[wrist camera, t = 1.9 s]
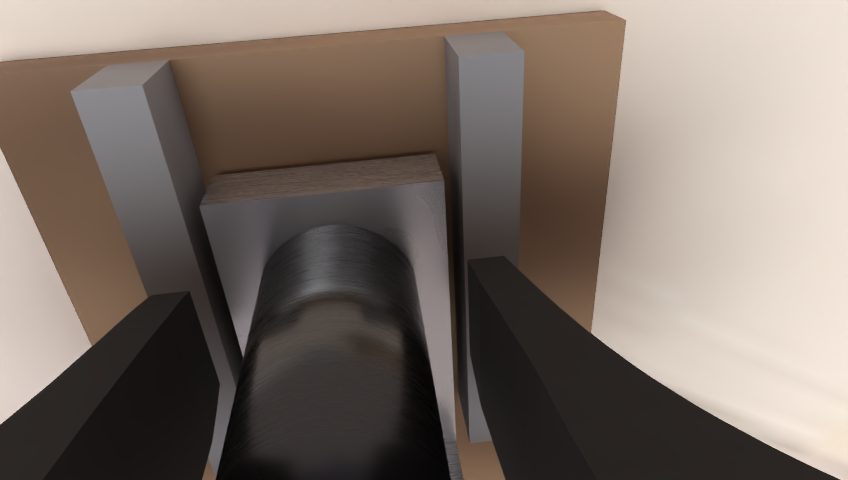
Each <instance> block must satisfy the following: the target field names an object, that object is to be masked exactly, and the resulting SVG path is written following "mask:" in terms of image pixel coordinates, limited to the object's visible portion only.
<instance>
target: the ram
mask: <svg viewBox="0 0 848 480" xmlns="http://www.w3.org/2000/svg"><path fill="white" fill-rule="evenodd" d="M199 207H200V211H201V214H202V217H203V221H204V224H205V228H206V231H207V235H208V238H209V241H210V245H211V248H212V252H213V255H214V259H215V262H216V266H217V269H218V272H219V276H220V279H221V283H222V286H223V290H224V293H225V297H226V300H227V303H228V307H229V310H230V314H231V317H232V321H233V324H234V327H235V331H236V334H237V338H238V341H239V345H240V348H241V352H242V355H243V361H242V365H241V370H240V374H239V378H238V383H237V387H236V392H235V396H234V401H233V405H232V409H231V414H230V418H229V423H228V427H227V431H226V436H225V440H224V445H223V449H222V454H221V458H220V462H219V467H218V471H217V476H216V480H464V479H463V474H462V469H461V464H460V458H459V453H458V448H457V443H456V425H455V403H454V382H453V360H452V338H451V317H450V295H449V273H448V252H447V230H446V208H445V187H444V179H443V176H442V173H441V170H440V167H439V164H438V161H437V158H436V155H435V154H426V155H416V156H406V157H396V158H386V159H376V160H365V161H355V162H345V163H335V164H325V165H315V166H305V167H295V168H285V169H275V170H265V171H255V172H245V173H235V174H225V175H215V176H213V178H212V180H211V183H210V185H209V187H208V189H207V191H206V193H205V195H204V197H203V199H202V201H201V203H200V206H199Z"/></svg>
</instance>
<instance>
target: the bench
mask: <svg viewBox="0 0 848 480" xmlns="http://www.w3.org/2000/svg"><path fill="white" fill-rule="evenodd" d="M625 25H626V20H624V19H622V18H620V17H618V16H615V15H613V14H611V13H609V12H606V11H594V12H582V13H571V14H559V15H547V16H535V17H524V18H512V19H500V20H488V21H476V22H465V23H453V24H441V25H429V26H418V27H406V28H394V29H382V30H371V31H359V32H347V33H335V34H324V35H312V36H300V37H288V38H277V39H265V40H253V41H241V42H230V43H218V44H206V45H194V46H183V47H171V48H159V49H147V50H136V51H124V52H112V53H100V54H89V55H77V56H65V57H53V58H42V59H30V60H18V61H6V62H0V148H1V150H2V152H3V154H4V156H5V158H6V161H7V163H8V165H9V167H10V169H11V171H12V174H13V176H14V178H15V180H16V182H17V184H18V187H19V189H20V191H21V193H22V195H23V197H24V200H25V202H26V204H27V206H28V208H29V210H30V213H31V215H32V217H33V219H34V221H35V223H36V226H37V228H38V230H39V232H40V234H41V236H42V239H43V241H44V243H45V245H46V247H47V250H48V252H49V254H50V256H51V258H52V260H53V263H54V265H55V267H56V269H57V271H58V273H59V276H60V278H61V280H62V282H63V284H64V286H65V289H66V291H67V293H68V295H69V297H70V299H71V302H72V304H73V306H74V308H75V310H76V312H77V315H78V317H79V319H80V321H81V323H82V325H83V328H84V330H85V332H86V334H87V336H88V338H89V341H90V343H91V345H92V346H93V345H94V344H95V343H97V342H98V341H99V340H100V339H101V338H102V337H103V336H104V335H105V334H107V333H108V332H109V331H110V330H111V329H112V328H113V327H114V326H115V325H117V324H118V323H119V322H120V321H121V320H122V319H123V318H124V317H125V316H127V315H128V314H129V313H130V312H131V311H132V310H133V309H135V308H136V307H137V306H138V305H139V304H141V303H142V302H143V301H144V300H146V299H147V298H148V297H149V296H151V295H157V294H166V293H175V292H184V291H190V294H191V297H192V300H193V303H194V306H195V309H196V312H197V315H198V318H199V321H200V324H201V327H202V330H203V333H204V336H205V339H206V342H207V345H208V349H209V352H210V355H211V358H212V361H213V364H214V367H215V370H216V373H217V376H218V379H219V382H220V389H219V397H218V405H217V414H216V421H215V427H214V434H213V441H212V444H211V448H210V452H209V456H208V460H207V463H206V467H205V471H204V475H203V478H202V480H216V476H217V471H218V467H219V462H220V458H221V454H222V449H223V445H224V440H225V436H226V431H227V427H228V423H229V418H230V414H231V409H232V405H233V401H234V396H235V392H236V387H237V383H238V378H239V374H240V370H241V365H242V361H243V355H242V352H241V348H240V345H239V341H238V338H237V334H236V331H235V327H234V324H233V321H232V317H231V314H230V310H229V307H228V303H227V300H226V297H225V293H224V290H223V286H222V283H221V279H220V276H219V272H218V269H217V266H216V262H215V259H214V255H213V252H212V248H211V245H210V241H209V238H208V235H207V231H206V228H205V224H204V221H203V217H202V214H201V211H200V207H199V206H200V203H201V201H202V199H203V197H204V195H205V193H206V191H207V189H208V187H209V185H210V183H211V180H212V178H213V176H215V175H225V174H235V173H245V172H255V171H265V170H275V169H285V168H295V167H305V166H315V165H325V164H335V163H345V162H355V161H365V160H376V159H386V158H396V157H406V156H416V155H426V154H435V155H436V158H437V161H438V164H439V167H440V170H441V173H442V176H443V179H444V187H445V208H446V230H447V252H448V273H449V295H450V317H451V338H452V360H453V382H454V403H455V425H456V443H457V448H458V453H459V458H460V464H461V469H462V474H463V479H464V480H505V477H504V474H503V471H502V468H501V465H500V462H499V459H498V456H497V453H496V450H495V447H494V444H493V441H492V438H491V435H490V432H489V429H488V426H487V423H486V420H485V417H484V414H483V411H482V408H481V404H480V400H479V395H478V390H477V386H476V381H475V376H474V371H473V366H472V362H471V357H470V340H469V301H468V262H467V260H470V259H479V258H488V257H497V256H505V257H506V258H507V259H508V260H509V261H510V262H511V263H512V264H514V265H515V266H516V267H517V268H518V269H519V270H520V271H521V272H522V273H523V274H524V275H525V276H526V277H527V278H528V279H529V280H530V281H532V282H533V283H534V284H535V285H536V286H537V287H538V288H539V289H540V290H541V291H542V292H543V293H545V294H546V295H547V296H548V297H549V298H550V299H551V300H552V301H553V302H555V303H556V304H557V305H558V306H559V307H560V308H561V309H562V310H564V311H565V312H566V313H567V314H568V315H570V316H571V317H572V318H573V319H574V320H576V321H577V322H578V323H579V324H580V325H581V326H583V327H584V328H585V329H586V330H587V331H589V332H590V333H591V327H592V318H593V309H594V300H595V292H596V283H597V274H598V265H599V256H600V247H601V238H602V229H603V220H604V212H605V203H606V194H607V185H608V176H609V167H610V158H611V149H612V141H613V132H614V123H615V114H616V105H617V96H618V87H619V78H620V69H621V61H622V52H623V43H624V34H625Z"/></svg>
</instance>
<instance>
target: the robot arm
mask: <svg viewBox="0 0 848 480" xmlns="http://www.w3.org/2000/svg"><path fill="white" fill-rule="evenodd" d="M467 262H468V301H469V340H470V357H471V362H472V366H473V371H474V376H475V381H476V386H477V390H478V395H479V400H480V404H481V408H482V411H483V414H484V417H485V420H486V423H487V426H488V429H489V432H490V435H491V438H492V441H493V444H494V447H495V450H496V453H497V456H498V459H499V462H500V465H501V468H502V471H503V474H504V477H505V480H840V479H838V478H835V477H833V476H831V475H829V474H827V473H824V472H822V471H820V470H818V469H816V468H814V467H812V466H809V465H807V464H805V463H803V462H801V461H799V460H797V459H795V458H793V457H791V456H789V455H787V454H785V453H783V452H781V451H779V450H777V449H775V448H773V447H771V446H769V445H767V444H765V443H763V442H761V441H760V440H758V439H756V438H754V437H752V436H750V435H748V434H747V433H745V432H743V431H741V430H739V429H737V428H735V427H733V426H732V425H730V424H728V423H726V422H724V421H722V420H720V419H719V418H717V417H715V416H713V415H712V414H710V413H708V412H707V411H705V410H703V409H701V408H700V407H698V406H696V405H694V404H693V403H691V402H690V401H688V400H686V399H685V398H683V397H682V396H680V395H678V394H677V393H675V392H674V391H672V390H670V389H669V388H667V387H666V386H664V385H663V384H661V383H659V382H658V381H656V380H655V379H653V378H651V377H650V376H648V375H647V374H646V373H644V372H643V371H641V370H640V369H638V368H637V367H635V366H634V365H632V364H631V363H630V362H628V361H627V360H625V359H624V358H623V357H621V356H620V355H619V354H617V353H616V352H615V351H613V350H612V349H611V348H609V347H608V346H607V345H605V344H604V343H603V342H601V341H600V340H599V339H597V338H596V337H595V336H594V335H592V334H591V333H590V332H589V331H587V330H586V329H585V328H584V327H583V326H581V325H580V324H579V323H578V322H577V321H576V320H574V319H573V318H572V317H571V316H570V315H568V314H567V313H566V312H565V311H564V310H562V309H561V308H560V307H559V306H558V305H557V304H556V303H555V302H553V301H552V300H551V299H550V298H549V297H548V296H547V295H546V294H545V293H543V292H542V291H541V290H540V289H539V288H538V287H537V286H536V285H535V284H534V283H533V282H532V281H530V280H529V279H528V278H527V277H526V276H525V275H524V274H523V273H522V272H521V271H520V270H519V269H518V268H517V267H516V266H515V265H514V264H512V263H511V262H510V261H509V260H508V259H507V258H506V257H505V256H497V257H488V258H479V259H470V260H467ZM219 389H220V382H219V379H218V376H217V373H216V370H215V367H214V364H213V361H212V358H211V355H210V352H209V349H208V345H207V342H206V339H205V336H204V333H203V330H202V327H201V324H200V321H199V318H198V315H197V312H196V309H195V306H194V303H193V300H192V297H191V294H190V291H184V292H175V293H166V294H157V295H151V296H149V297H148V298H147V299H146V300H144V301H143V302H142V303H141V304H139V305H138V306H137V307H136V308H135V309H133V310H132V311H131V312H130V313H129V314H128V315H127V316H125V317H124V318H123V319H122V320H121V321H120V322H119V323H118V324H117V325H115V326H114V327H113V328H112V329H111V330H110V331H109V332H108V333H107V334H105V335H104V336H103V337H102V338H101V339H100V340H99V341H98V342H97V343H95V344H94V345H93V346H92V347H91V348H90V349H89V350H88V351H86V352H85V353H84V354H83V355H82V356H81V357H80V358H79V359H77V360H76V361H75V362H74V363H73V364H72V365H71V366H70V367H68V368H67V369H66V370H65V371H64V372H63V373H62V374H61V375H59V376H58V377H57V378H56V379H55V380H54V381H53V382H51V383H50V384H49V385H48V386H47V387H46V388H44V389H43V390H42V391H41V392H39V393H38V394H37V395H36V396H35V397H33V398H32V399H31V400H30V401H29V402H27V403H26V404H25V405H24V406H22V407H21V408H20V409H19V410H18V411H16V412H15V413H14V414H13V415H12V416H10V417H9V418H8V419H7V420H6V421H4V422H3V423H2V424H1V425H0V480H202V478H203V475H204V471H205V467H206V463H207V460H208V456H209V452H210V448H211V444H212V441H213V434H214V427H215V421H216V414H217V405H218V397H219Z"/></svg>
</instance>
